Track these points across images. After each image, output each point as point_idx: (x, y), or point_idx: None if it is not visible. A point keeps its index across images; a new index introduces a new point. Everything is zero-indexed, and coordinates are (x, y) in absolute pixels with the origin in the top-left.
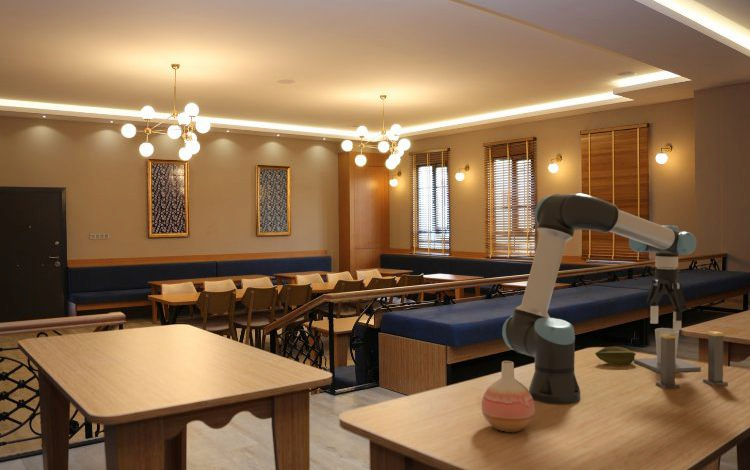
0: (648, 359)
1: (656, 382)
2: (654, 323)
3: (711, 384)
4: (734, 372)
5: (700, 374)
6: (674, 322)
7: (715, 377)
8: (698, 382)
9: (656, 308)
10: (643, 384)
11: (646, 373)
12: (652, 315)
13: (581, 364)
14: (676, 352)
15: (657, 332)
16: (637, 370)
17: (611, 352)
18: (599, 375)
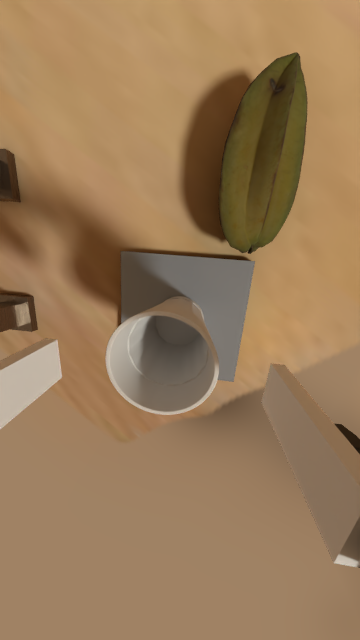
0: (232, 302)
1: (5, 150)
2: (266, 382)
3: (6, 294)
4: (99, 412)
5: (94, 339)
6: (3, 359)
7: None
8: (31, 283)
9: (324, 507)
10: (19, 116)
11: (126, 211)
12: (295, 407)
13: (300, 31)
14: (155, 349)
15: (159, 309)
16: (162, 207)
17: (243, 113)
18: (133, 13)
